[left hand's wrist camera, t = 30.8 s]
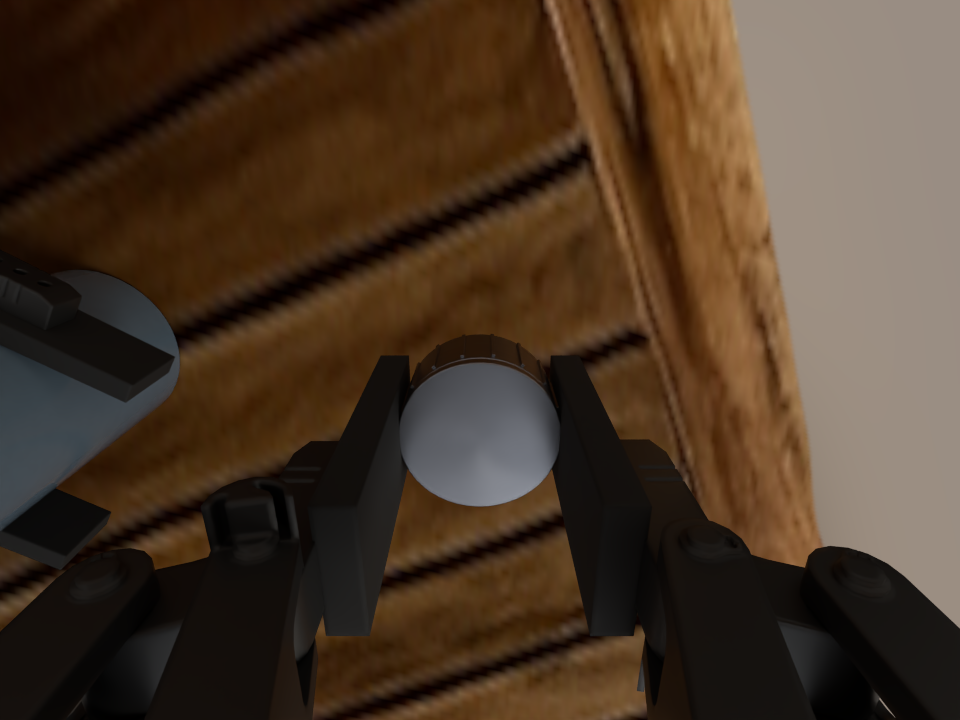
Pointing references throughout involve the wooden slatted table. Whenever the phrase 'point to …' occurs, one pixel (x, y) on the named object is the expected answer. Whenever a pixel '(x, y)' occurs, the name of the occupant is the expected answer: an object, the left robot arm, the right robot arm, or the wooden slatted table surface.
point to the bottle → (72, 399)
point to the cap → (479, 421)
